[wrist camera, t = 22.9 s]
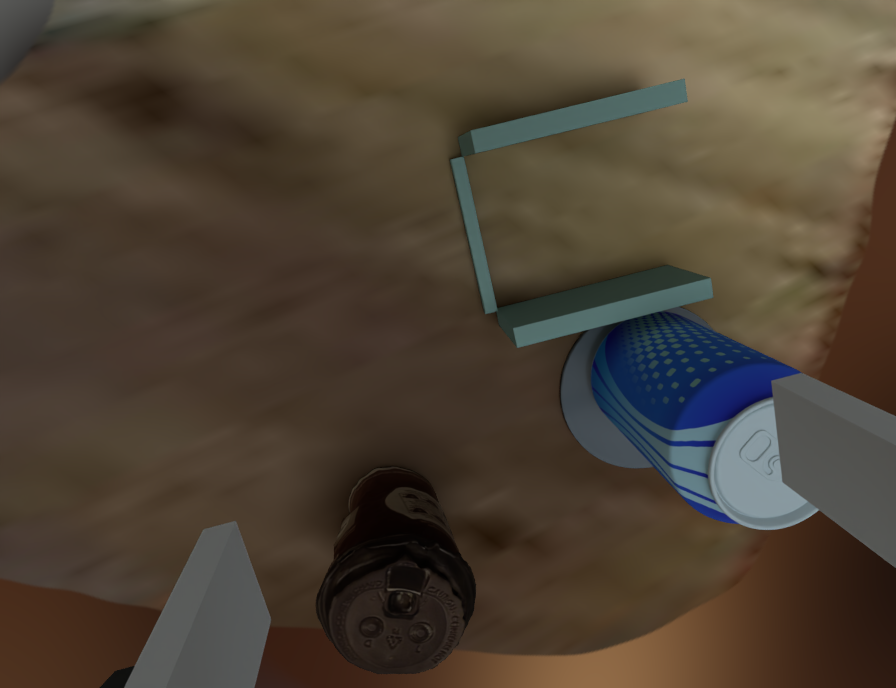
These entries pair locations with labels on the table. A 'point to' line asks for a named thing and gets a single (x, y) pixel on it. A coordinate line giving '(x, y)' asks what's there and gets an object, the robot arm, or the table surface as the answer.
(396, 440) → the table surface
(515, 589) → the table surface
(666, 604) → the table surface
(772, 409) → the beer can
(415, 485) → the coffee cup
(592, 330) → the flat grey disc
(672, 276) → the rack
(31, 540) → the table surface
